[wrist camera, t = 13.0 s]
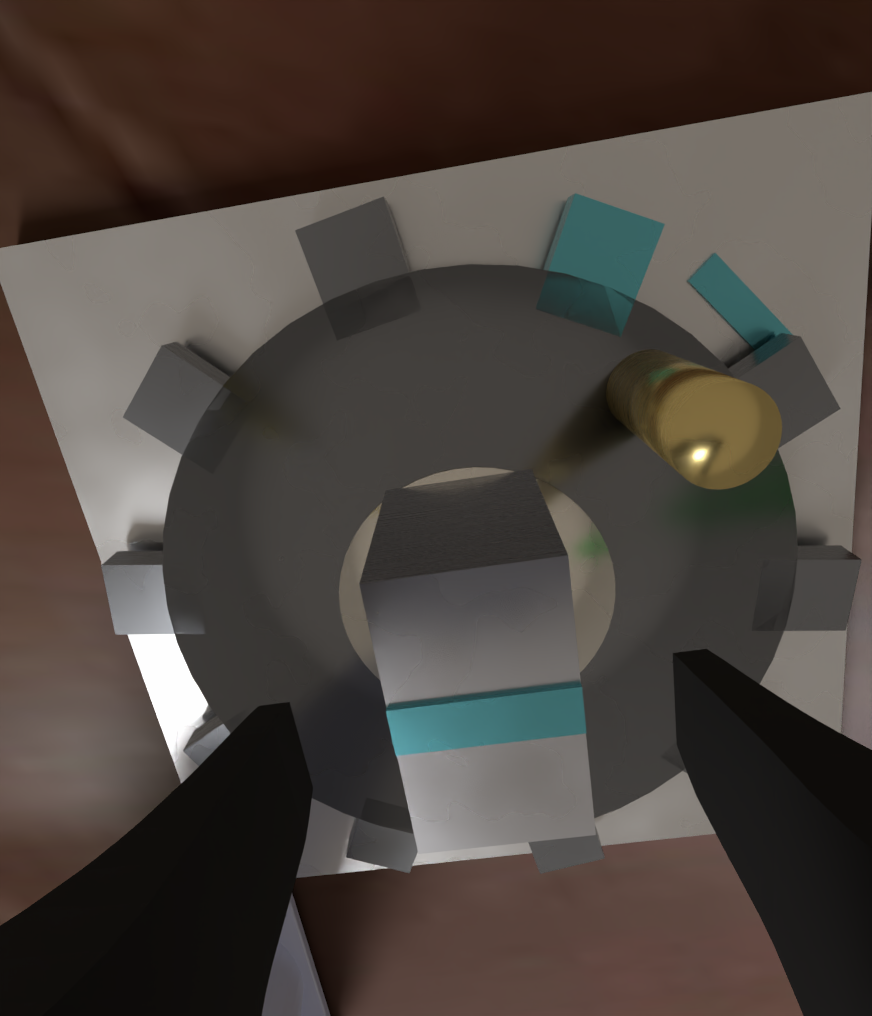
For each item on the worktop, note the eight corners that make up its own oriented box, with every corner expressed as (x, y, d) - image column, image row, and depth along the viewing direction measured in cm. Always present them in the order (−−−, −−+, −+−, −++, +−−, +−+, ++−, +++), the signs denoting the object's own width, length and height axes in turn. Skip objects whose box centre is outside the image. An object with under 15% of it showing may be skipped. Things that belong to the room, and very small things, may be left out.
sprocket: (995, 509, 17) (1235, 613, 12) (538, 935, 22) (566, 1134, 17) (368, -7, 13) (319, -181, 8) (7, 648, 19) (-159, 790, 13)
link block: (555, 683, 17) (597, 839, 13) (425, 699, 18) (418, 858, 13) (531, 468, 15) (568, 557, 11) (385, 490, 16) (358, 586, 11)
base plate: (818, 796, 21) (837, 823, 20) (227, 860, 23) (217, 888, 22) (851, 102, 15) (882, 89, 14) (15, 251, 16) (-15, 249, 15)
